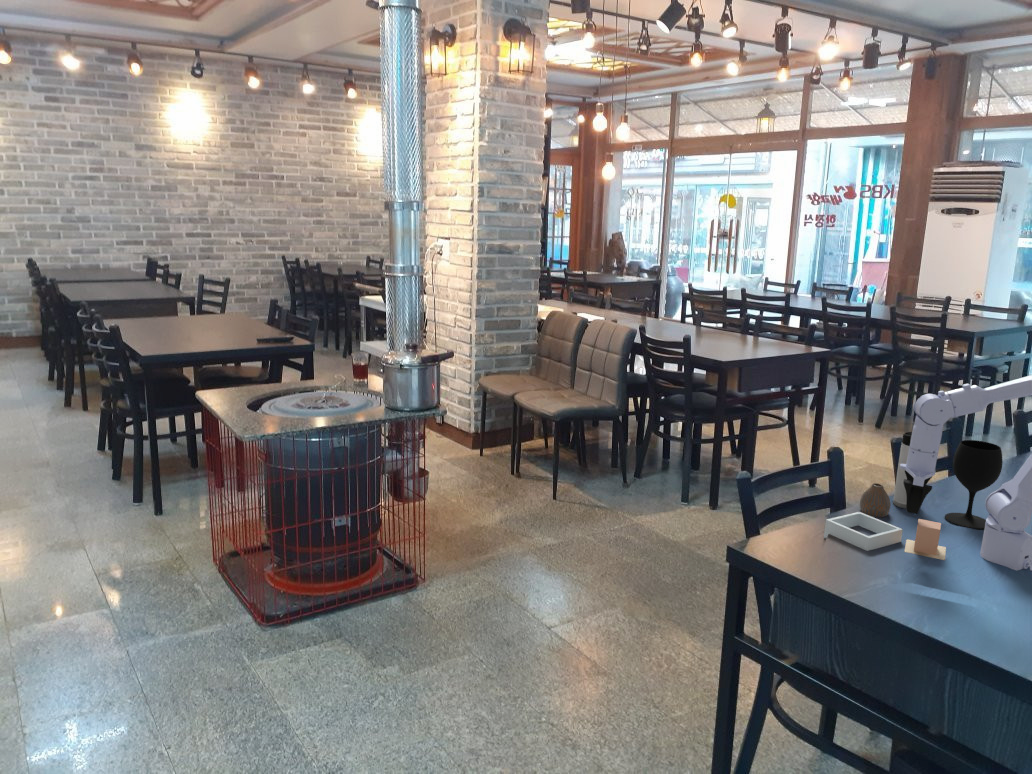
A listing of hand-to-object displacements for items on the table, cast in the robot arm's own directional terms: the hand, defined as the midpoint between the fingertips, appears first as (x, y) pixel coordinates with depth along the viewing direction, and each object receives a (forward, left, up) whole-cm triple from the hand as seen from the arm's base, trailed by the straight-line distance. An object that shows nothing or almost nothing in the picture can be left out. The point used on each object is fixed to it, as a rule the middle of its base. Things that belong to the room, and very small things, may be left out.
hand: (912, 507), depth 177 cm
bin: (+8, +5, -11) cm, 14 cm away
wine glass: (+5, -31, -11) cm, 34 cm away
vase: (+17, -11, -11) cm, 23 cm away
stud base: (-3, -2, -11) cm, 11 cm away
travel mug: (+19, -27, -11) cm, 35 cm away
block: (-3, -2, -9) cm, 10 cm away
